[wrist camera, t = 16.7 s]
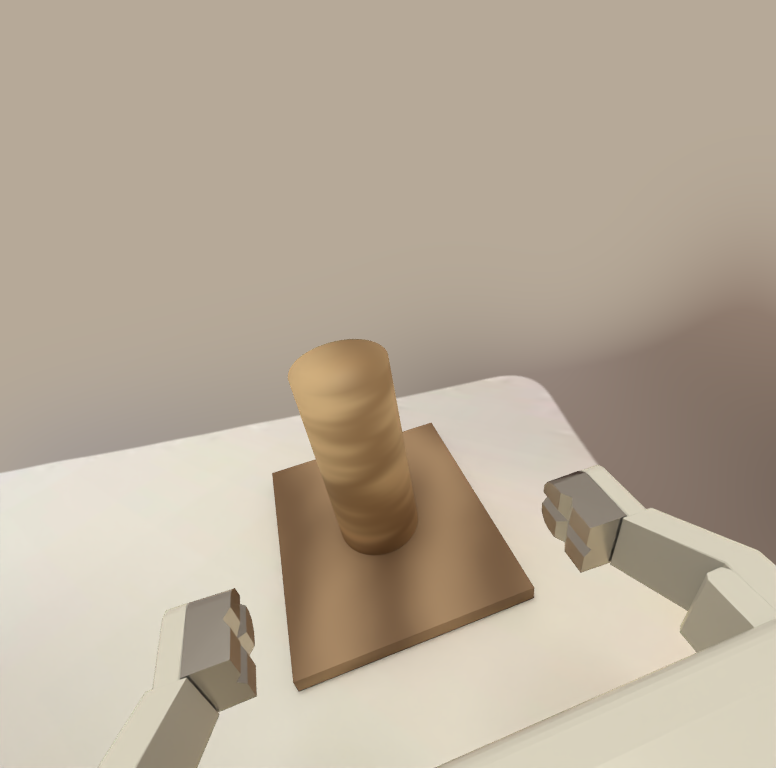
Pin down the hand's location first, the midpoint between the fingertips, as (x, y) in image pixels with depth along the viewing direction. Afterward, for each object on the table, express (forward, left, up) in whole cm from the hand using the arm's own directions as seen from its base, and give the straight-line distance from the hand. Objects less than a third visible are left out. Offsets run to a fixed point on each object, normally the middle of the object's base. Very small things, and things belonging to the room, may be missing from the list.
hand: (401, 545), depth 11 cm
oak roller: (0, +12, -13) cm, 18 cm away
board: (0, +12, -14) cm, 19 cm away
